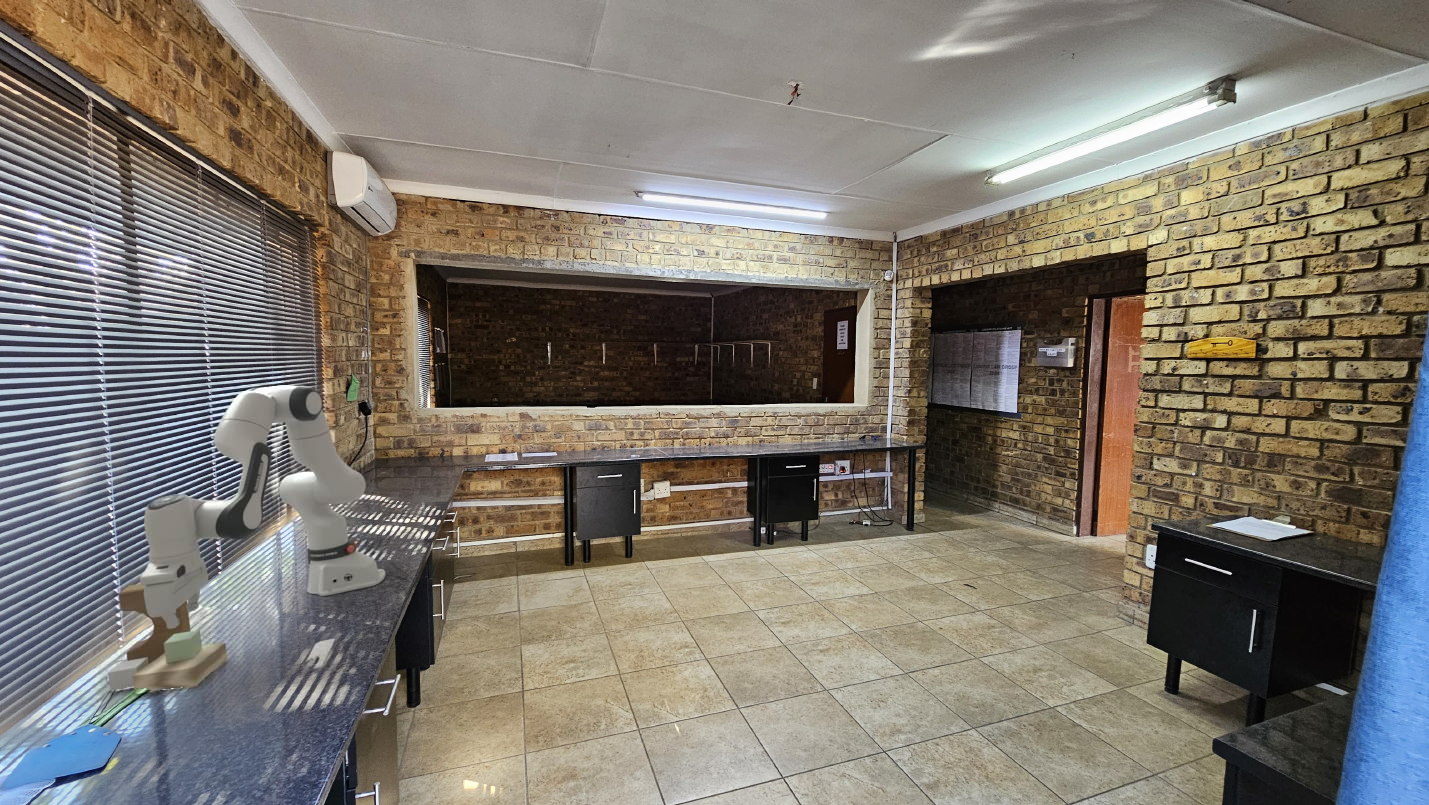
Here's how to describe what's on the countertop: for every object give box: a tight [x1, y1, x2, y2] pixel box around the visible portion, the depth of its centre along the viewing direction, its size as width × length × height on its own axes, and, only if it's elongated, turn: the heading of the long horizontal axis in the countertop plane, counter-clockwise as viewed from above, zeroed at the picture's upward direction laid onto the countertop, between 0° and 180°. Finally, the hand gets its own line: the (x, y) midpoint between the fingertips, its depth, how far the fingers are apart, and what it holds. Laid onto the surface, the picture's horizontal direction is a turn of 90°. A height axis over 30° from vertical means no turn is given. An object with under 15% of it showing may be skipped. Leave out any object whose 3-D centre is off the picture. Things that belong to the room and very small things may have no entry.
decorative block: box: [118, 583, 192, 664], centre depth 146 cm, size 11×6×20 cm, turn 115°
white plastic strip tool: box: [306, 638, 336, 670], centre depth 146 cm, size 5×15×1 cm, turn 23°
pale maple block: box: [133, 642, 228, 692], centre depth 138 cm, size 12×12×5 cm
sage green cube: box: [164, 629, 203, 664], centre depth 139 cm, size 5×5×5 cm
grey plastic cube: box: [107, 657, 149, 692], centre depth 135 cm, size 5×5×5 cm
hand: (183, 618), depth 139 cm, fingers open, 8 cm apart
